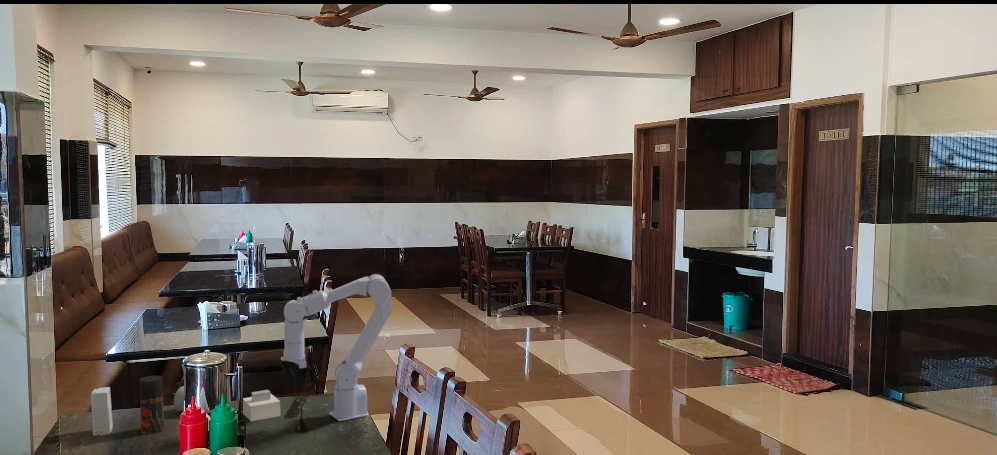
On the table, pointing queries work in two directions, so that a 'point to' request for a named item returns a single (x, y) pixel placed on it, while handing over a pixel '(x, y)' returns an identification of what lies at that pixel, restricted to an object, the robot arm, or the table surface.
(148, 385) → the deodorant
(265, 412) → the white box with knob
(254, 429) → the table surface
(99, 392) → the skincare box
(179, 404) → the grey rounded block
